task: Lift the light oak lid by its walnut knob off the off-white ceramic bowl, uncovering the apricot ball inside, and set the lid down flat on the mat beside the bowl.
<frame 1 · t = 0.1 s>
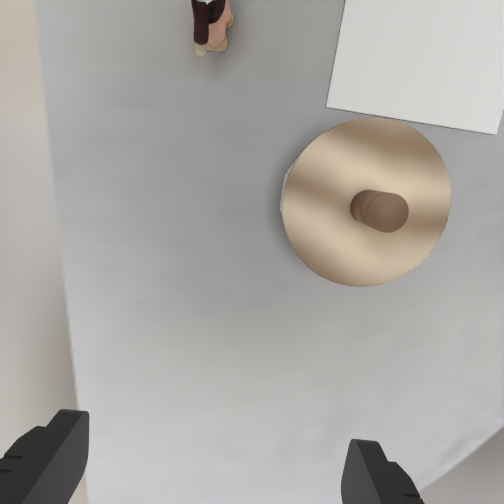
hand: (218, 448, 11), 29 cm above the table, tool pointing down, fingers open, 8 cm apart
lid: (363, 205, 32), point 6 cm above the table, touching bowl
grandmother figurine: (215, 34, 34), on the table
mat: (433, 25, 34), on the table
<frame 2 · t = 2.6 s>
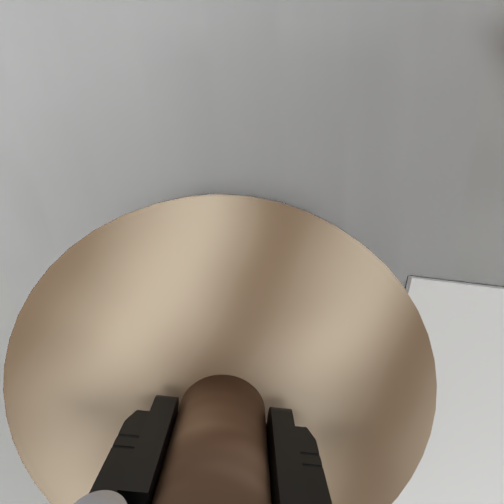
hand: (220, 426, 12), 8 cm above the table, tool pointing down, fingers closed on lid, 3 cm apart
lid: (224, 394, 13), point 6 cm above the table, touching bowl, gripper
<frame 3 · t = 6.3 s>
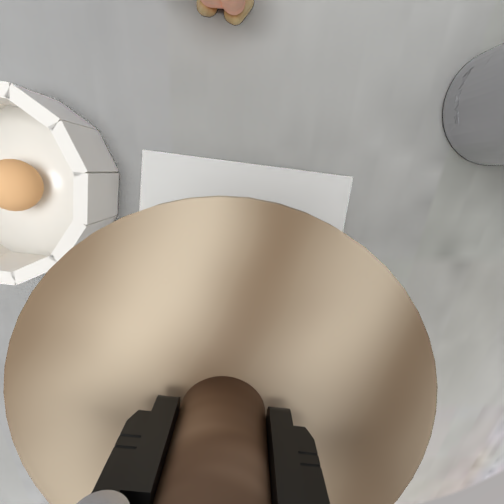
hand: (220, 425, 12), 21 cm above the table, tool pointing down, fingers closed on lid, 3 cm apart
lid: (224, 396, 13), point 19 cm above the table, touching gripper
bowl: (36, 183, 30), on the table
grandmother figurine: (217, 0, 27), on the table
mat: (237, 264, 32), on the table
apricot ball: (13, 185, 27), point 3 cm above the table, touching bowl
when the fingers open (4 cm above the table, at t = 9.7 s): lid drops 2 cm, resting on mat.
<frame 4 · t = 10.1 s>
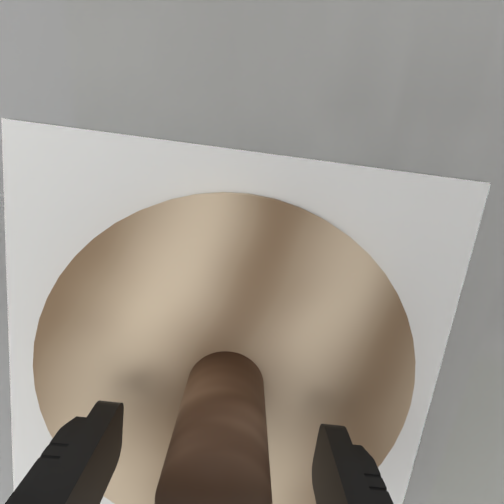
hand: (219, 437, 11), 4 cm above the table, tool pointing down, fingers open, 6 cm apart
lid: (227, 371, 15), resting on mat
mat: (226, 366, 15), on the table
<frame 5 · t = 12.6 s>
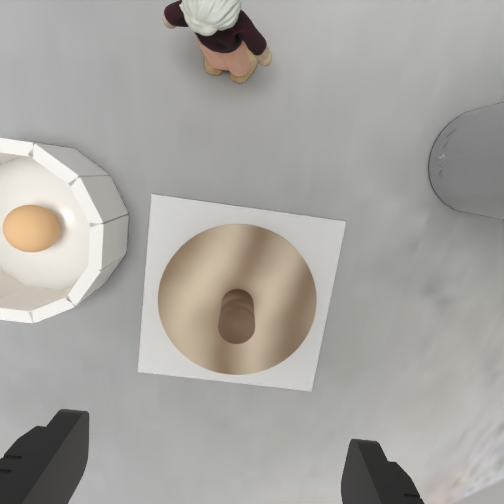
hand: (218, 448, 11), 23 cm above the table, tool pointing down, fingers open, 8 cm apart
lid: (237, 300, 34), resting on mat
bowl: (51, 223, 32), on the table
grandmother figurine: (223, 60, 30), on the table
mat: (237, 298, 34), on the table
apricot ball: (31, 228, 29), point 3 cm above the table, touching bowl
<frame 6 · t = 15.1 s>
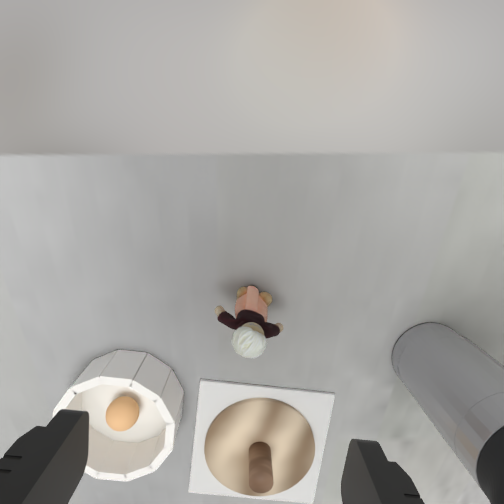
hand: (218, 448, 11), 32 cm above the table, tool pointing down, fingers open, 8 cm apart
lid: (259, 445, 48), resting on mat
bowl: (130, 398, 46), on the table
grandmother figurine: (249, 297, 44), on the table
mat: (259, 443, 48), on the table
apricot ball: (122, 413, 44), point 3 cm above the table, touching bowl
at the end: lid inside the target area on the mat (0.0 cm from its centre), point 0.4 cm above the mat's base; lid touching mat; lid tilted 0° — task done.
